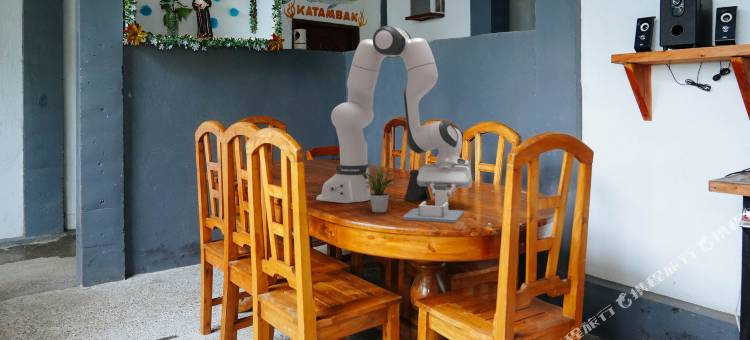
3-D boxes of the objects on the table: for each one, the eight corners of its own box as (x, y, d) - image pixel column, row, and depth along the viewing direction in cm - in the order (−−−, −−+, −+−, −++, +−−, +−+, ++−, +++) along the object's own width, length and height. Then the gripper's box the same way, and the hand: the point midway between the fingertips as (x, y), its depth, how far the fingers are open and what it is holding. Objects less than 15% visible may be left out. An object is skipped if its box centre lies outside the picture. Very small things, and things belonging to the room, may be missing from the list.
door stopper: (413, 202, 221) (413, 172, 219) (404, 200, 226) (404, 170, 224) (431, 199, 226) (431, 170, 224) (421, 197, 231) (421, 168, 229)
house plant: (379, 217, 194) (378, 170, 192) (350, 212, 203) (349, 167, 201) (405, 211, 204) (405, 166, 202) (377, 206, 214) (377, 163, 212)
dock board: (402, 219, 190) (402, 206, 190) (413, 211, 204) (413, 198, 204) (455, 222, 185) (455, 209, 184) (463, 213, 199) (463, 201, 198)
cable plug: (435, 210, 205) (435, 185, 204) (437, 208, 209) (437, 184, 208) (445, 210, 204) (446, 186, 203) (448, 208, 208) (448, 184, 207)
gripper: (418, 159, 215) (412, 188, 207) (472, 160, 208) (468, 191, 200) (421, 169, 219) (415, 198, 211) (474, 171, 213) (470, 201, 205)
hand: (441, 195), depth 206 cm, fingers closed on cable plug, 4 cm apart
